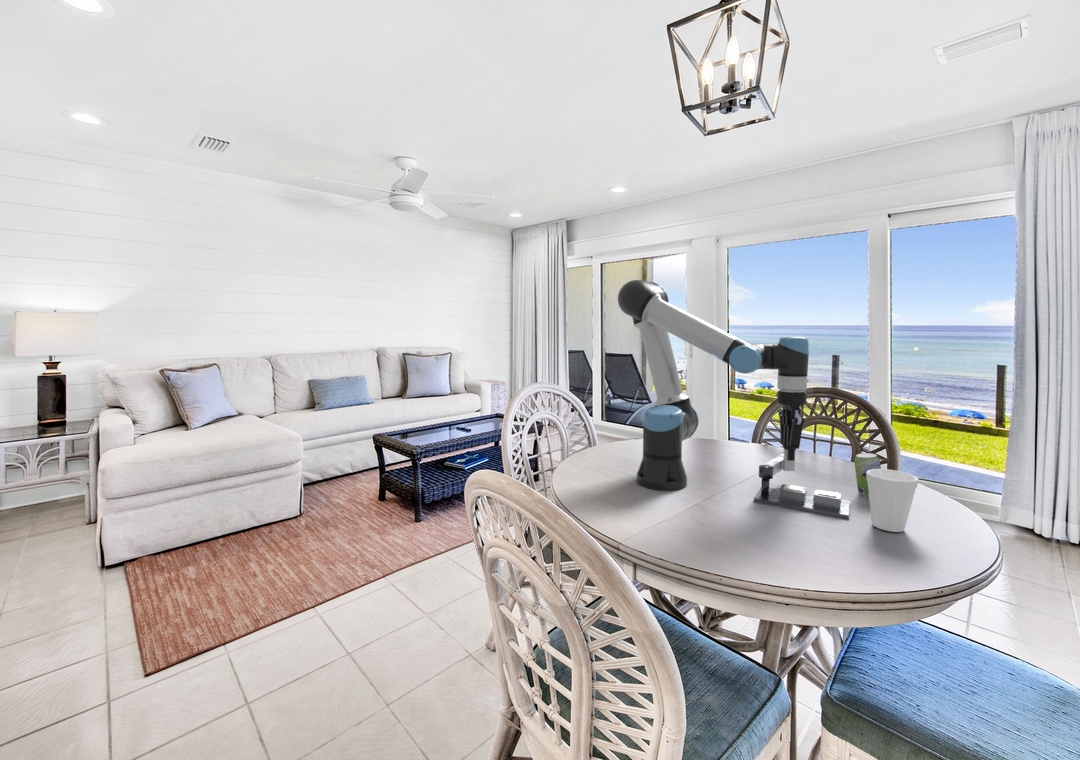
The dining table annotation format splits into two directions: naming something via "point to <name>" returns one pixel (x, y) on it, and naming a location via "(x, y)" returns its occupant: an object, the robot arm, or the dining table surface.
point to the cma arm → (771, 467)
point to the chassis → (803, 500)
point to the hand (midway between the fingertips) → (788, 470)
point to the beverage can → (865, 470)
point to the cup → (890, 498)
